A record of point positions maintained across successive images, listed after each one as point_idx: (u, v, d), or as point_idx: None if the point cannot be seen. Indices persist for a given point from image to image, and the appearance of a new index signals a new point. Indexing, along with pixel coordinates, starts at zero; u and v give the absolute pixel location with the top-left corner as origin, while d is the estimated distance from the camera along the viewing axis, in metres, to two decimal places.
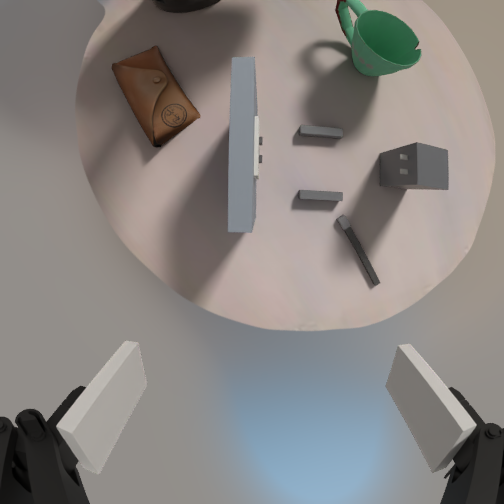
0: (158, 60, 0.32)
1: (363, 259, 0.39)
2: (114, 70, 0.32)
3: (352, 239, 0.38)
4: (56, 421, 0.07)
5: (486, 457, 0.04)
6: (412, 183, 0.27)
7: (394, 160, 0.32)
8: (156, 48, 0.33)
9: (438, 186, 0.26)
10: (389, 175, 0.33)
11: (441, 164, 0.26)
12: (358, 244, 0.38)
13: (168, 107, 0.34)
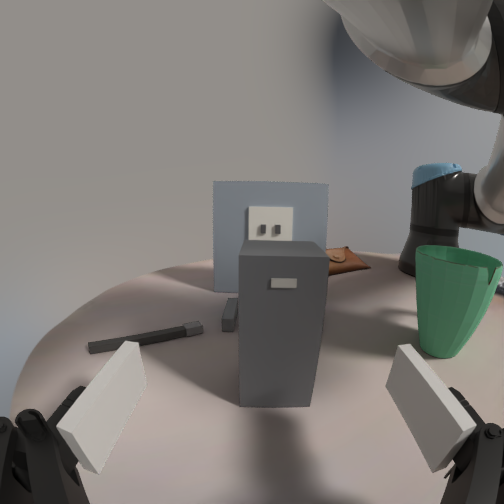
0: (355, 262, 0.53)
1: (134, 336, 0.25)
2: None
3: (167, 329, 0.26)
4: (56, 421, 0.07)
5: (486, 457, 0.04)
6: None
7: None
8: (367, 265, 0.54)
9: (244, 249, 0.17)
10: None
11: (291, 251, 0.16)
12: (157, 333, 0.25)
13: None
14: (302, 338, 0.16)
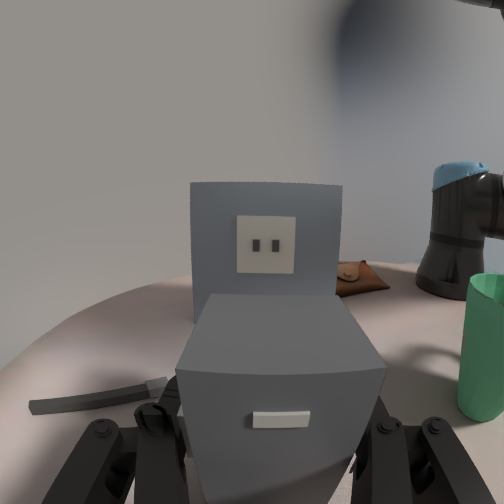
0: (371, 281, 0.42)
1: (82, 396, 0.15)
2: None
3: (124, 389, 0.17)
4: None
5: (385, 455, 0.06)
6: None
7: None
8: (386, 285, 0.43)
9: (198, 335, 0.07)
10: None
11: (299, 347, 0.07)
12: (111, 395, 0.16)
13: None
14: (311, 478, 0.07)
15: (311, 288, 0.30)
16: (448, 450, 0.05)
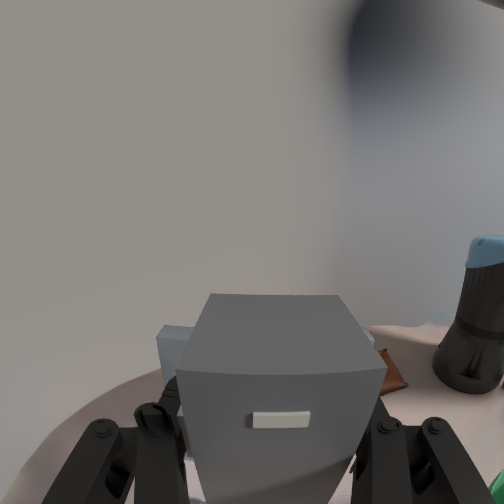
0: (387, 383, 0.32)
1: None
2: None
3: None
4: None
5: (385, 455, 0.06)
6: None
7: None
8: (404, 384, 0.32)
9: (197, 335, 0.07)
10: None
11: (299, 347, 0.07)
12: None
13: None
14: (311, 479, 0.07)
15: None
16: (448, 450, 0.05)
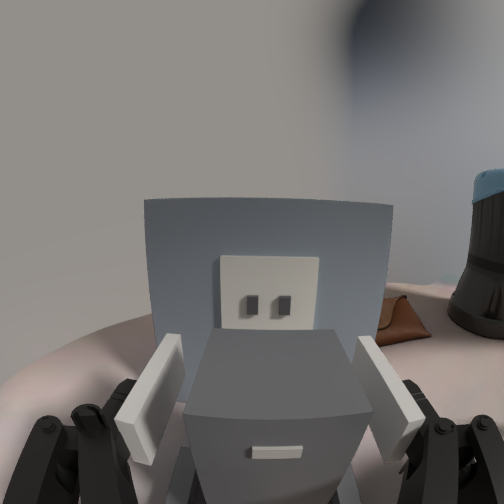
0: (406, 327, 0.28)
1: None
2: None
3: None
4: (108, 415, 0.08)
5: (439, 454, 0.05)
6: None
7: None
8: (426, 333, 0.28)
9: (201, 377, 0.08)
10: None
11: (294, 390, 0.07)
12: None
13: None
14: (305, 495, 0.07)
15: None
16: (492, 446, 0.04)
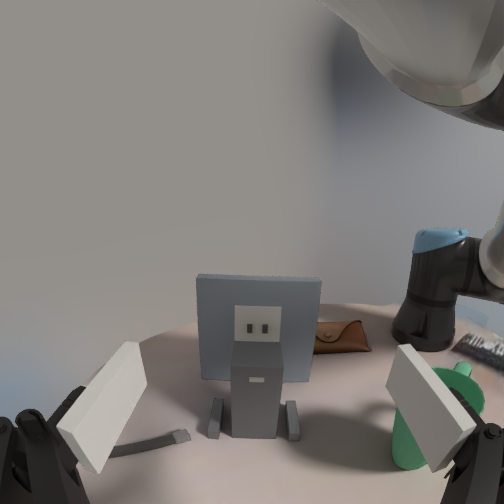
0: (350, 343, 0.45)
1: (128, 446, 0.22)
2: None
3: (157, 439, 0.24)
4: (56, 421, 0.07)
5: (486, 457, 0.04)
6: None
7: None
8: (366, 348, 0.45)
9: (233, 356, 0.26)
10: None
11: (262, 360, 0.25)
12: (149, 444, 0.23)
13: None
14: (268, 405, 0.25)
15: (292, 356, 0.36)
16: None
